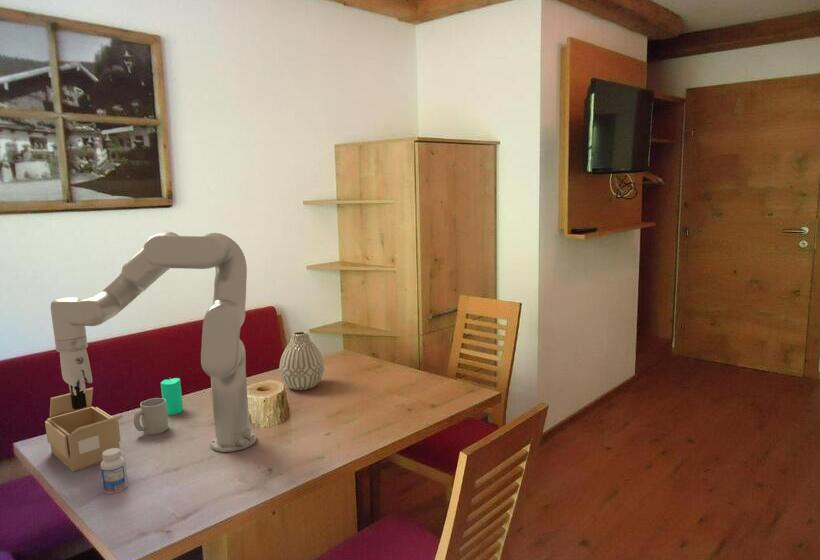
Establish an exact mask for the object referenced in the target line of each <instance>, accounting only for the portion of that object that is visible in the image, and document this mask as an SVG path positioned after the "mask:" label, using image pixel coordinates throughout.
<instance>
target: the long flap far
mask: <svg viewBox="0 0 820 560" xmlns="http://www.w3.org/2000/svg"><path fill="white" fill-rule="evenodd" d="M93 394H94V387H89V388H88V387H87V388H86V390H85V396H86V404H87V406H86V407H84V408H81V409H85V408H89V407H92V402H93ZM71 395H72V394H71V393H70V392H68V393H66V394H61V395H57V396H52V397H50V403H49V404H50V405H49V418H52V417H56V416H59V415H63V414H67V413H70V412H74V411H78V410H79V409H77V410H75V409H73V408H72V402H71ZM81 409H80V410H81Z"/></svg>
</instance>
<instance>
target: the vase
mask: <svg viewBox="0 0 820 560" xmlns="http://www.w3.org/2000/svg"><path fill="white" fill-rule="evenodd" d="M324 362H325V361H324V358H323V356H322V354H321V351H320V350H319V348H318V347H317V346H316V344H315V343H314V342H313V341H312V340H311V338H310V335H309V333H308V332H307V331H304V330H300V331H299V330H298V331H294V332H292V334H291V337H290V341H288V343H287V345H286V347H285V348H284V350H283V353H282V354H281V357H280V361H279V365H278V366H279V368H278V369H279V370H278V371H279V373H280V377H281V379H282V382H284V384H285V385H286V386H287V387H288V388H290V389H292V390H294V391H307V390H310V389H314V388H315V387H316V386H317V385H318V384H319V383H320V382H321V380H322V378H323V376H324V372H325V363H324Z"/></svg>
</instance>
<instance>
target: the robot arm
mask: <svg viewBox="0 0 820 560" xmlns="http://www.w3.org/2000/svg"><path fill="white" fill-rule="evenodd" d="M212 268H213V269H214V268H215V276H214V281H213V282H214V284H213V285H214V286H213V287H214V288H213V298H212V304H211V306H210V307H209V308H208V310H207V311H206V313H205V315H204V317H203V322H202V329H201V330H202V333H201V350H200V364H201V368H202V370H203V371H204V373H205V374H206V375H207V376H208V377H210V385H211V386H210V387H211V388H210V389H211V398H212V399H211V400H212V410H213V411H212V412H213V413H212V414H213V421H214V424H213V425H214V434H215V436H214V437H213V438H211V440H210V448H211V449H212V450H214V451H216V452H221V453H222V452H223V453H230V452H238V451H241V450H244V449H247V448H249V447H251V446H253V445H254V444H255V443H256V442H257V434H256V433H255V432H253V431H251V427H250V426H251V424H250V423H251V422H250V412H249V402H248V401H249V400H248V398H249V397H248V386H247V371H246V370H247V366H246V364H247V363H246V362H247V359H246V348H245V344H244V342H243V341H242V339H240V334H241V328H242V326H243V325H244V322H245V320H246V304H247V303H246V302H247V301H246V300H247V278H248V276H247V275H248V274H247V273H248V270H247V269H248V267H247V261H246V257H245V253H244V251H243V250H242V248H241V247H240V245H239V244H238V243H237V242H236V241H235V240H233V239H232V238H231V237H229V236H228V235H226V234H223V233H219V232H211V233H210V232H209V233H207V234H205V235H202V236H198V235H195V236H192V235H191V236H189V235H179V234H178V233H175V232H172V231H164V232H161V233H157V234H154V235H152V236H150V237H149V238H148V239H147V240H146V241H145V243H144V245H143V248H141V249H140V250H139V251H138V252H137V253H136V254H135V255H133V256H132V257H131V258H130V259H129V260H128V261H126V262H125V263H124V264H123V265H122V267H121V272H120V274H119V275H118V276H117V277H116V278H115V279H114V280H113V281H112V282H111V283H110V284H108V285H107V286H106V287H105V288H104V289H103V290H102V291H100V292H98V293H97V294H95V295H92V296H90V297H88V298H86V299H80V298H79V297H75V296H73V297H72V296H71V297H62V298H57V299H53V300H52V301H51V302H50V315H51V321H52V329H53V330H52V331H53V337H54V343H55V351H56V352H58V353H59V360H60V370H61V371H60V372H61V376H62V380H63V381H64V383H66V384H68V388H69V393H71V394H72V395H71V402H72V408H73V409H75V410H74V411H78V410H81V408H82V409H85V408H87V407H86V406H87V404H86V396H85V390H86V389H87V388H86V386H87V385H86V383H88V384H92V383H93V376H92V375H93V374H92V369H91V365H90V364H91V363H90V359H89V355H88V351H87V348H88V346H89V345H88V339H87V330H86V326H87V327H98V326H100V325H102V324H103V323H105V322H107V321H109V320H110V319H113V318H114V317H115V316H116V315H118V314H120V312H122V310H124V309H125V308H126V307H127V306H128V305H130V304H131V303H132V302H133V301H134V300H135V299H136V298H137V297H139V296H140V295H141V294H142V293H143V292H145V291H146V290H147V289H148V288H150V287H151V285H153V284H154V283H155V282H156V281H157V280H158V279H160V277H161V276H163V275H164V274H166V272H167V271H169V270H170V269H184V270H185V269H188V270H189V269H190V270H191V269H192V270H193V269H194V270H205V269H207V270H208V269H212ZM85 382H86V383H85ZM84 407H85V408H84ZM77 409H78V410H77Z"/></svg>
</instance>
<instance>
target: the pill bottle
mask: <svg viewBox="0 0 820 560" xmlns="http://www.w3.org/2000/svg"><path fill="white" fill-rule="evenodd" d="M102 458H103V461H102V462H101V463H100V469H101V470H100V471H101V478H102V479H101V480H102V487H103V491H104V492H105V493H107V494H116V493H120V492H122V491H124V490H125V489H126V488H127V487H129V486H128V485H129V484H128V475H127V468H126V461H125V458H124V457H123V456H122V453H121V449H119V448H111V449H108V450H105V451H104V452H103V453H102Z"/></svg>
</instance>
